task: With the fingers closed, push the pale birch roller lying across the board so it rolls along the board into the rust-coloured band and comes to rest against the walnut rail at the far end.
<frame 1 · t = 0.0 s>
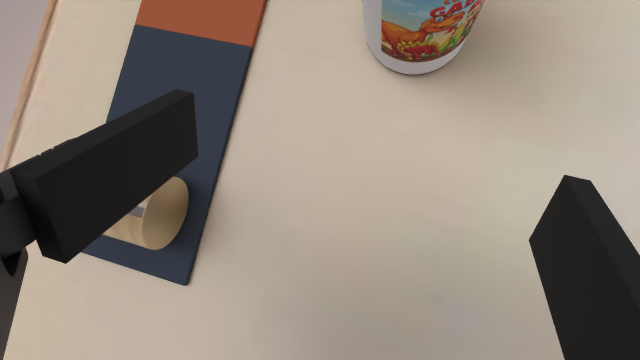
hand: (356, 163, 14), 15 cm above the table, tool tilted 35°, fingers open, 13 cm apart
milk bottle: (414, 30, 29), on the table
roller: (120, 200, 28), point 3 cm above the table, touching board
board: (178, 93, 32), on the table
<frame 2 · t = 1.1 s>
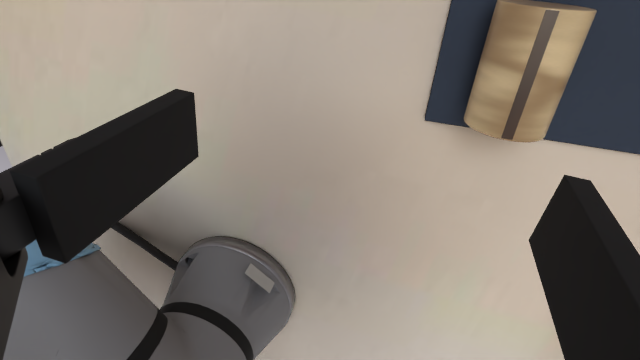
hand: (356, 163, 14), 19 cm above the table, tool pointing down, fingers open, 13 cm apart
roller: (522, 70, 25), point 3 cm above the table, touching board
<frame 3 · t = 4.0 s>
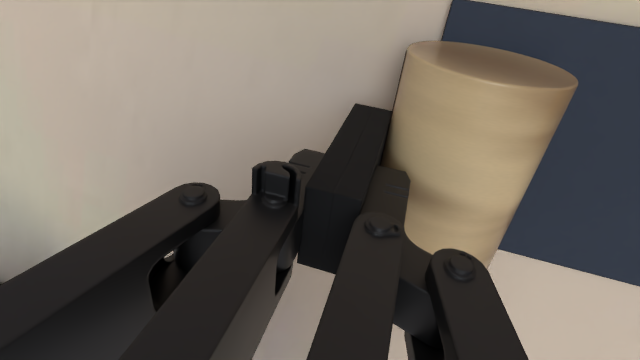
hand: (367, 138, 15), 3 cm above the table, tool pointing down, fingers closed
roller: (453, 162, 15), point 3 cm above the table, tilted 90°, touching board
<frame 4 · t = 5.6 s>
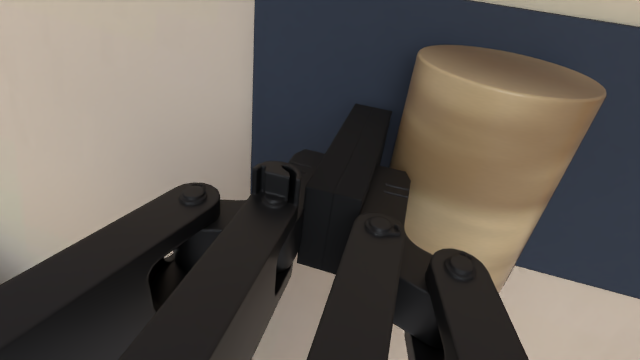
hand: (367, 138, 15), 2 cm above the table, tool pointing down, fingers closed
roller: (465, 175, 14), point 3 cm above the table, tilted 79°, touching board
board: (589, 170, 16), on the table
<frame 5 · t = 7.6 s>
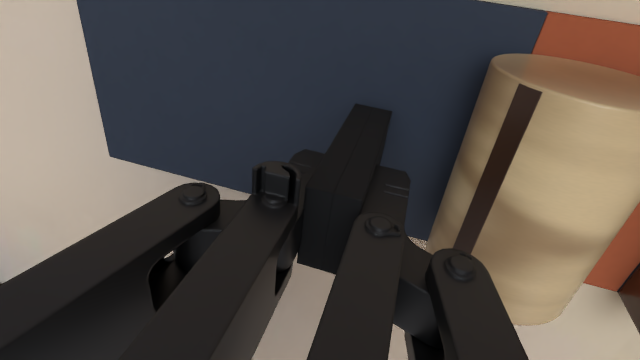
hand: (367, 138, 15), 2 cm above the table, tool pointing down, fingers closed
roller: (531, 188, 13), point 3 cm above the table, tilted 45°, touching board
board: (377, 122, 17), on the table
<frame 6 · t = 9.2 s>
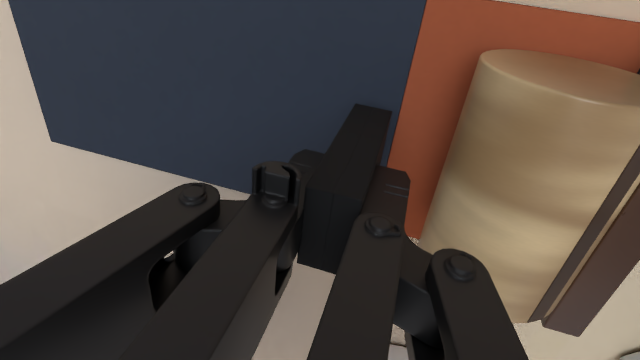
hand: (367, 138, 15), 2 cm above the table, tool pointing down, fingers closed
roller: (522, 185, 13), point 3 cm above the table, tilted 33°, touching board
board: (291, 103, 18), on the table
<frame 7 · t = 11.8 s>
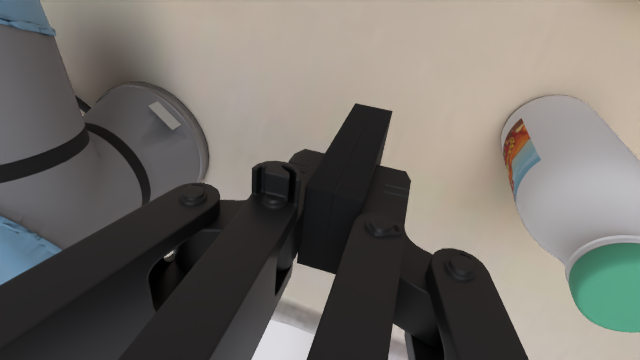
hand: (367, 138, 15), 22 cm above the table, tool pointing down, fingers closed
milk bottle: (546, 133, 34), on the table
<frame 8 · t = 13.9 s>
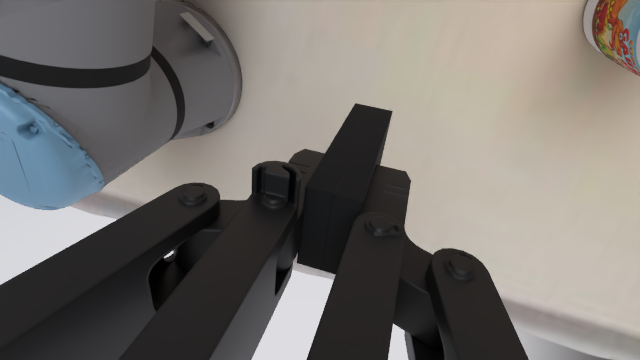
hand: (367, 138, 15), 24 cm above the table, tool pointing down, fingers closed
milk bottle: (636, 7, 30), on the table
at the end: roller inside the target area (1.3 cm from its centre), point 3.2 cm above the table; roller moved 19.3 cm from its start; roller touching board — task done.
